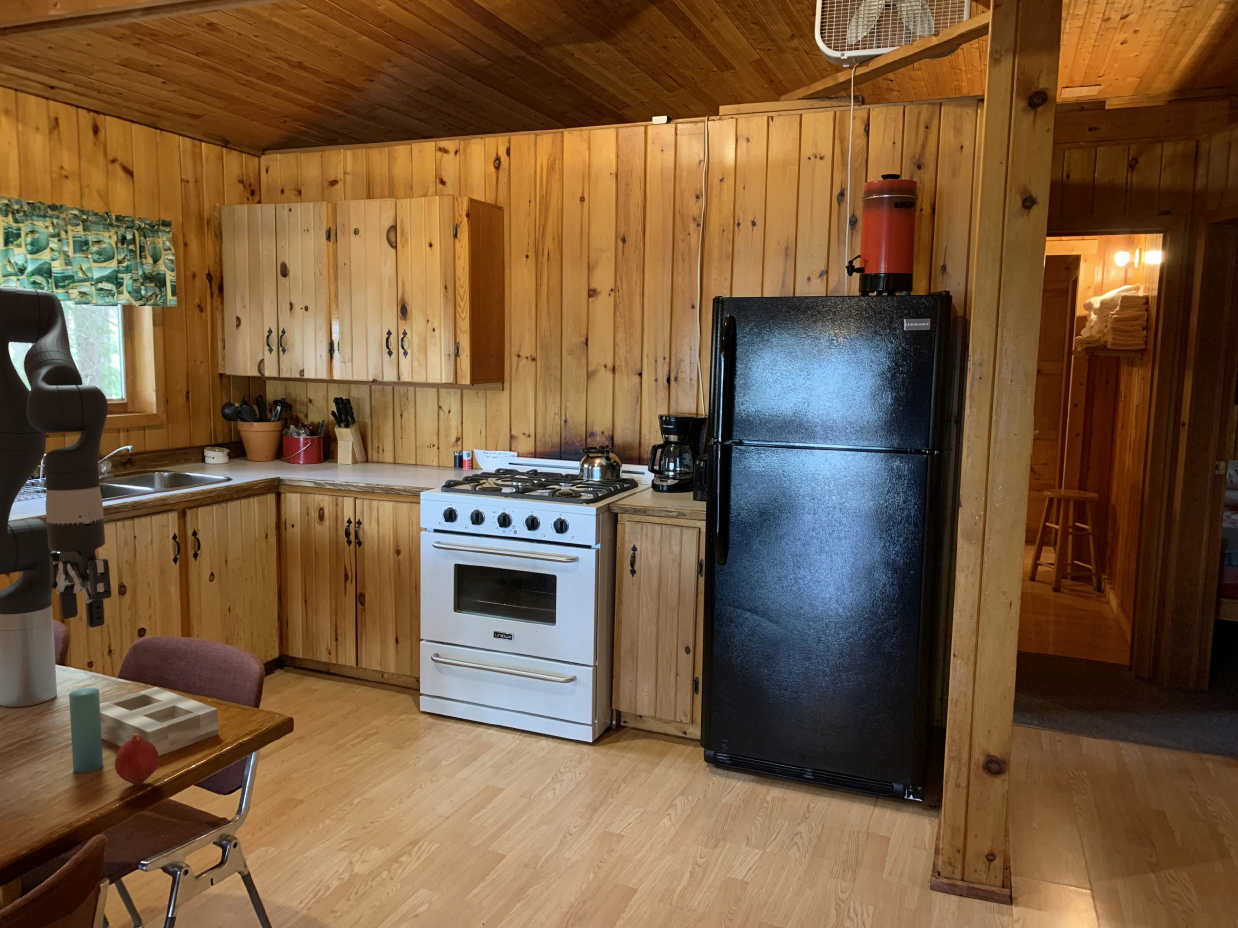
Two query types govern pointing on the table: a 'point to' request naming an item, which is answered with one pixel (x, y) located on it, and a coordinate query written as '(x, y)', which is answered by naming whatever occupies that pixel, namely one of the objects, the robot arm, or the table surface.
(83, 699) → the pin
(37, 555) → the robot arm
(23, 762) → the table surface
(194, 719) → the hole board
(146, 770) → the onion
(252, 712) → the table surface
